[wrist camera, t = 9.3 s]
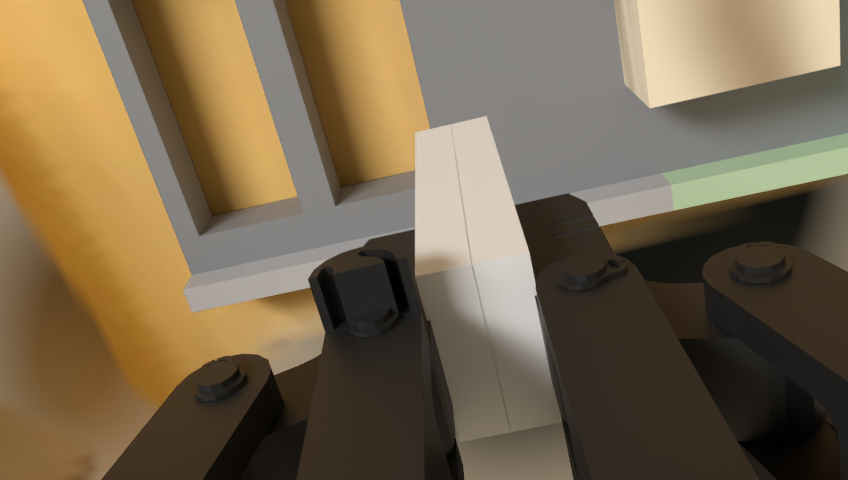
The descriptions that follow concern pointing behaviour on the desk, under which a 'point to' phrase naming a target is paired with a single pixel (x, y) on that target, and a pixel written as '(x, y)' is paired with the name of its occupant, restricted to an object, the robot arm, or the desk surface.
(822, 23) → the block
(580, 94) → the lane deck
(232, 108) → the desk surface
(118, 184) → the desk surface
